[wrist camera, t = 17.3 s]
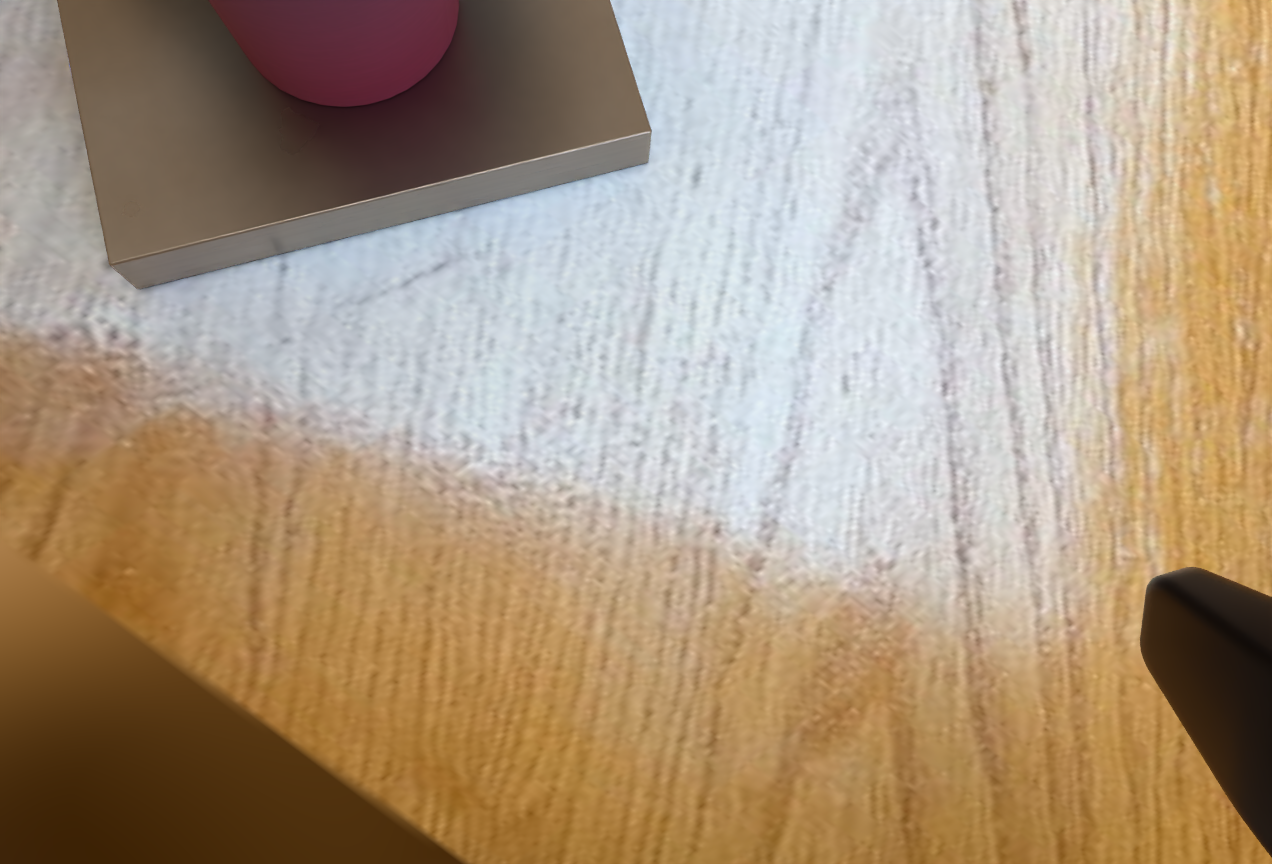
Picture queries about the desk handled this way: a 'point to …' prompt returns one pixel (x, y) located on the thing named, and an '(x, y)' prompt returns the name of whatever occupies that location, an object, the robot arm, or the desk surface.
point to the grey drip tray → (332, 130)
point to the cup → (341, 44)
